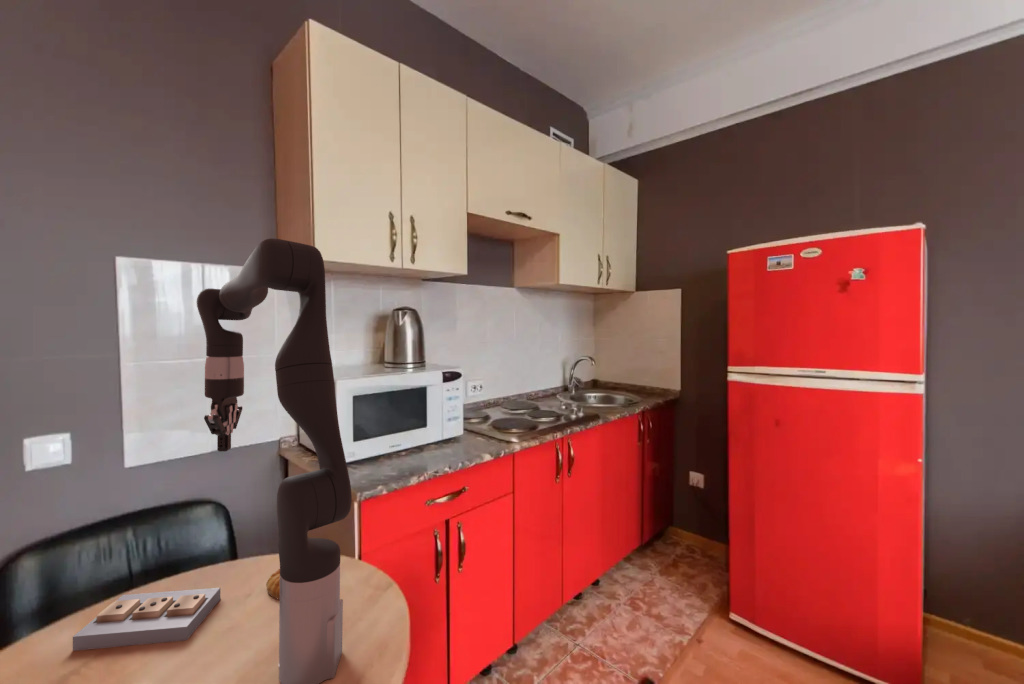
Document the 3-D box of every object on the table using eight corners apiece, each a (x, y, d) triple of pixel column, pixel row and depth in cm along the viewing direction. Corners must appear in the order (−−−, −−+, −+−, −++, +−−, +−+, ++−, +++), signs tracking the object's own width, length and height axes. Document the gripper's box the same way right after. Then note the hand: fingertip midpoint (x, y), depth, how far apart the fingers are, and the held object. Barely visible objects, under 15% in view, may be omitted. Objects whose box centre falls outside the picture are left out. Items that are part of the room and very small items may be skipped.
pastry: (314, 592, 92) (314, 575, 92) (282, 608, 87) (282, 590, 87) (293, 577, 98) (293, 561, 98) (262, 591, 92) (262, 574, 92)
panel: (220, 599, 89) (220, 587, 89) (186, 640, 77) (186, 626, 77) (123, 606, 86) (123, 594, 86) (72, 650, 74) (72, 636, 74)
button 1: (140, 611, 83) (140, 597, 83) (123, 626, 79) (123, 612, 79) (114, 613, 82) (114, 599, 82) (96, 629, 78) (96, 614, 78)
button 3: (173, 608, 84) (173, 595, 84) (158, 623, 80) (158, 609, 80) (148, 610, 83) (148, 597, 83) (132, 626, 79) (132, 611, 79)
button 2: (205, 606, 85) (205, 592, 85) (192, 620, 81) (192, 606, 81) (180, 608, 84) (181, 594, 84) (166, 622, 80) (167, 608, 80)
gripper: (228, 379, 91) (227, 458, 92) (254, 373, 104) (254, 442, 105) (190, 379, 90) (189, 459, 90) (221, 373, 103) (221, 443, 103)
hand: (224, 450), depth 98 cm, fingers closed
